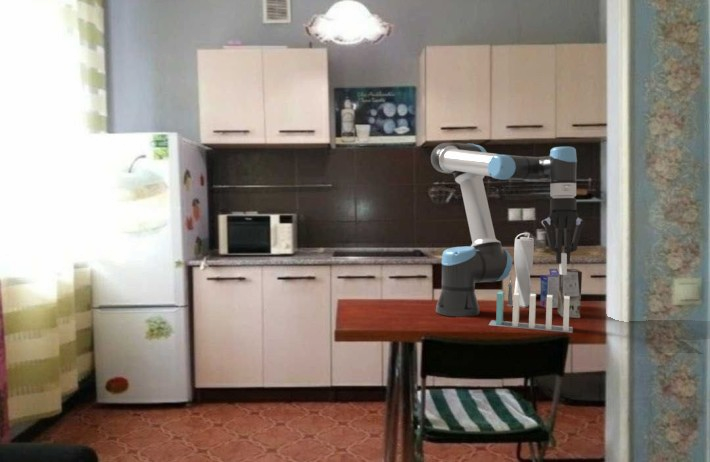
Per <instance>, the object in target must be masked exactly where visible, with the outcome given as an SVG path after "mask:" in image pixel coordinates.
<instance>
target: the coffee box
mask: <svg viewBox="0 0 710 462" xmlns="http://www.w3.org/2000/svg"><path fill="white" fill-rule="evenodd" d="M582 279H583V271H581V270H579V269H577V268H575V269H574V268H567V275H561V274H559V281H558V308H557V313H558V315H559V316H560V317H562V318H563V313H564V296H570V303H569V318H572V319H573V318H574V319H580V318H581V307H582V305H581V304H582V281H583V280H582Z"/></svg>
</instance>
